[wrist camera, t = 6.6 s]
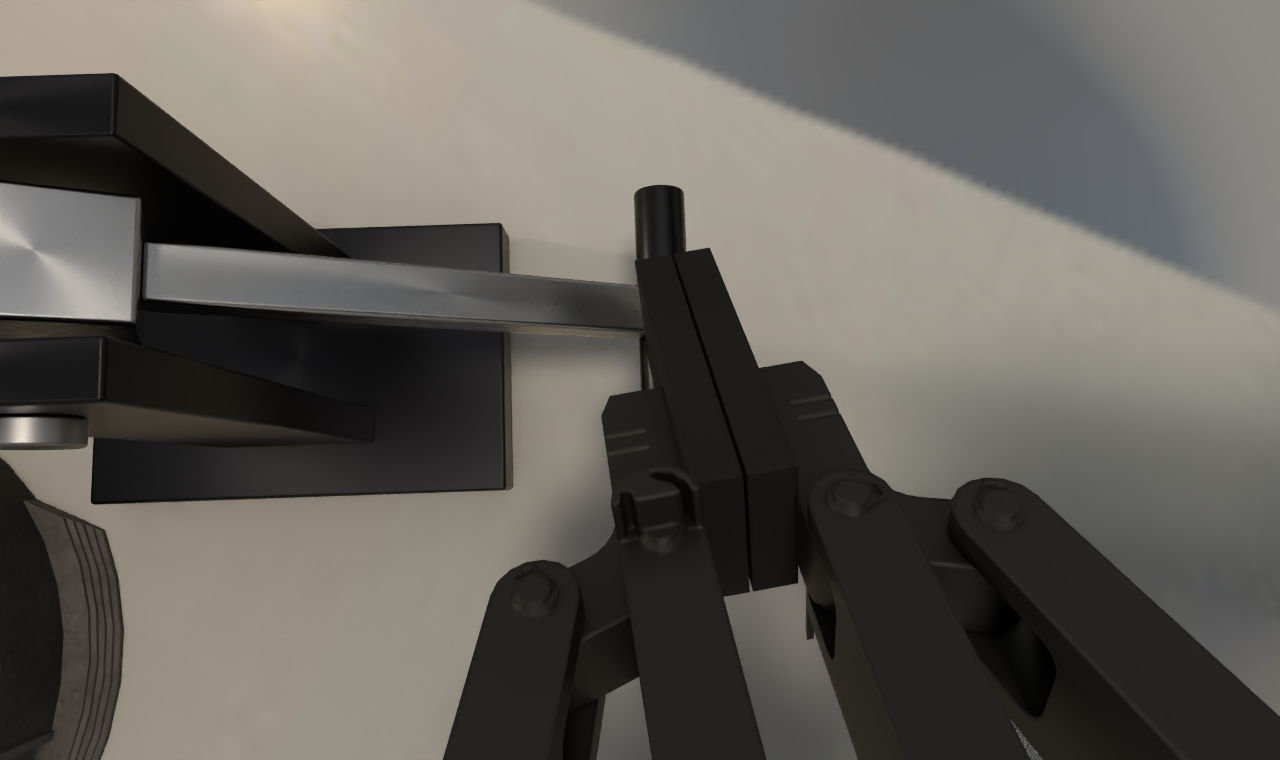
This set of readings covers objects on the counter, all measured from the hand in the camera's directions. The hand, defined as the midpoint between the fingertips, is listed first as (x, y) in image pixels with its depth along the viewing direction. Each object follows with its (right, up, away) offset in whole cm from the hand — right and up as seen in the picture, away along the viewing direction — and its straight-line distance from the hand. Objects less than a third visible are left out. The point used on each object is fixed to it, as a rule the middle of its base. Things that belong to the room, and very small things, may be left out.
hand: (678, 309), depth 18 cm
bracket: (-11, -1, +8) cm, 14 cm away
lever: (-6, 0, 0) cm, 6 cm away
